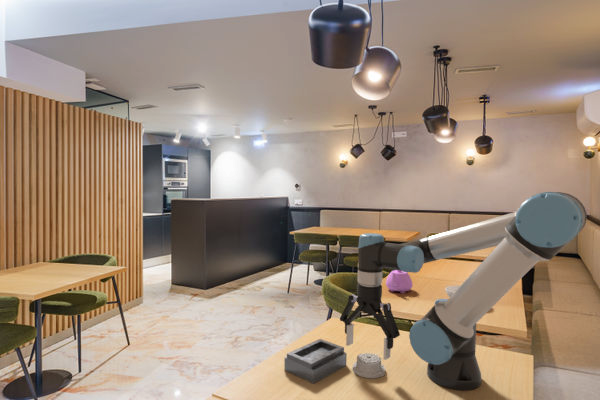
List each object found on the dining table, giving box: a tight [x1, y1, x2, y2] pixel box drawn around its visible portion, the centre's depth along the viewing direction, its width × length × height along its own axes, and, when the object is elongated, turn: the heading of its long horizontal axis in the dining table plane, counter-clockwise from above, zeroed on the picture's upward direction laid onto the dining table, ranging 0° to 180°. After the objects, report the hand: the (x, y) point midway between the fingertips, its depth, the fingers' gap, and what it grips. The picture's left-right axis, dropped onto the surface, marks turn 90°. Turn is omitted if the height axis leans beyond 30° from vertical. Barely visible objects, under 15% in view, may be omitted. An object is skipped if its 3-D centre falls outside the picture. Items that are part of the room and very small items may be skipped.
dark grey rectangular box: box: [283, 338, 347, 385], centre depth 123 cm, size 12×19×6 cm, turn 137°
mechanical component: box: [352, 352, 386, 379], centre depth 120 cm, size 10×4×10 cm
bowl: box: [444, 285, 461, 298], centre depth 189 cm, size 16×16×7 cm
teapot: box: [385, 269, 413, 294], centre depth 211 cm, size 20×14×12 cm
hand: (367, 351), depth 121 cm, fingers open, 13 cm apart
